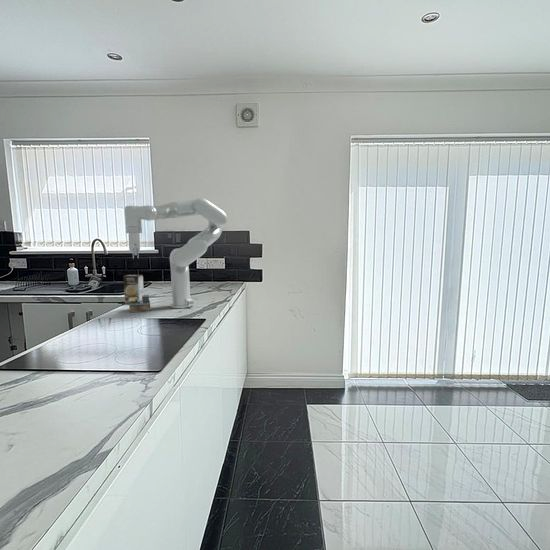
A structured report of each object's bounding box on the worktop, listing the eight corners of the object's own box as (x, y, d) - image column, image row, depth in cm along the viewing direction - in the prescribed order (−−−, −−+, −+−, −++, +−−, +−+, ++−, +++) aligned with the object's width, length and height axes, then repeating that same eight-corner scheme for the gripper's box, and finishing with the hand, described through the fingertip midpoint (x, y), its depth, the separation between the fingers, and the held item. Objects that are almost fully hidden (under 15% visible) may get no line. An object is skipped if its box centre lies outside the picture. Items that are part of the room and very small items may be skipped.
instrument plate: (149, 301, 187) (149, 294, 186) (150, 304, 180) (150, 296, 179) (129, 302, 183) (129, 295, 183) (129, 305, 176) (129, 298, 175)
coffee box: (124, 303, 197) (122, 275, 195) (130, 301, 204) (128, 274, 201) (139, 304, 196) (137, 276, 194) (144, 301, 203) (143, 274, 201)
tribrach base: (149, 307, 187) (149, 301, 187) (150, 310, 180) (150, 304, 180) (129, 309, 184) (129, 303, 183) (129, 312, 176) (129, 306, 176)
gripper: (126, 230, 182) (128, 265, 184) (125, 230, 168) (128, 268, 170) (141, 230, 184) (143, 264, 187) (142, 230, 171) (144, 267, 173)
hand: (136, 266), depth 179 cm, fingers closed
